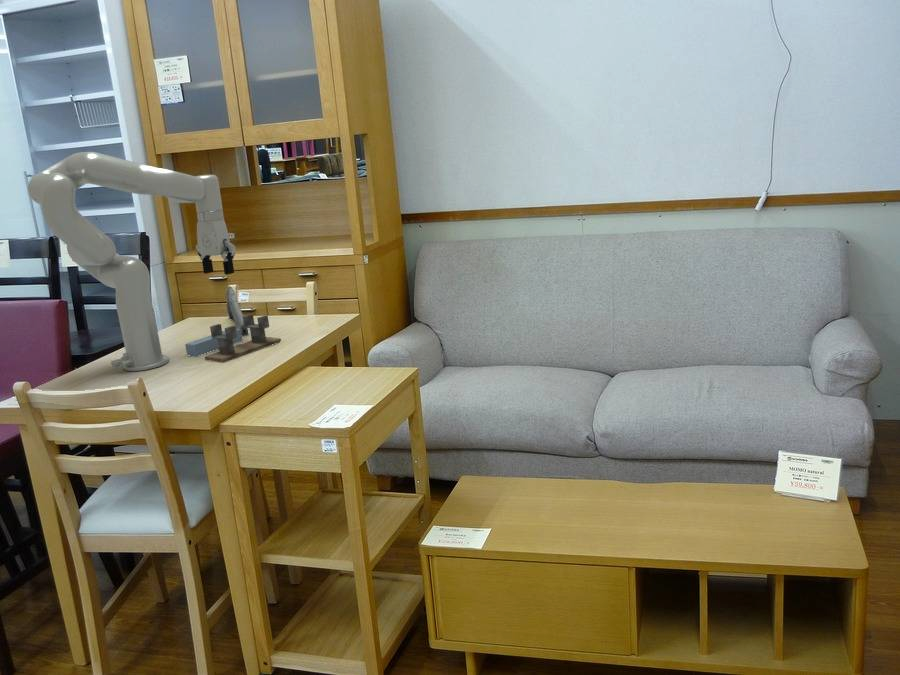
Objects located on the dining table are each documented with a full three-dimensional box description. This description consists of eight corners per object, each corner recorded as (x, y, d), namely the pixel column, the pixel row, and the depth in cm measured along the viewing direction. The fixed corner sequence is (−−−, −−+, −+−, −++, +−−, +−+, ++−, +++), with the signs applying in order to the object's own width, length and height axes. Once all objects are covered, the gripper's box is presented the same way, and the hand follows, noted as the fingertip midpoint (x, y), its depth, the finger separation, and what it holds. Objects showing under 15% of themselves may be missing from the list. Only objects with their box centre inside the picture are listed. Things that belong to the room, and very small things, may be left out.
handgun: (253, 360, 264) (248, 322, 256) (243, 362, 263) (238, 323, 255) (235, 312, 288) (230, 275, 279) (226, 314, 287) (221, 277, 278)
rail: (196, 358, 238) (194, 344, 236) (187, 356, 240) (185, 343, 239) (242, 341, 252) (240, 329, 251) (234, 340, 254) (232, 328, 253)
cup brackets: (222, 362, 229) (217, 331, 226) (205, 359, 233) (199, 329, 231) (281, 341, 245) (276, 312, 243) (263, 339, 250) (259, 311, 248)
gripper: (182, 218, 245) (191, 274, 249) (219, 218, 235) (227, 276, 239) (202, 215, 250) (210, 270, 255) (239, 215, 240) (247, 272, 245)
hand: (219, 273), depth 247 cm, fingers open, 9 cm apart
